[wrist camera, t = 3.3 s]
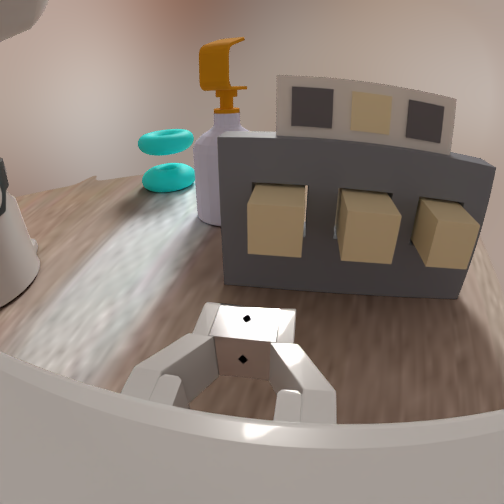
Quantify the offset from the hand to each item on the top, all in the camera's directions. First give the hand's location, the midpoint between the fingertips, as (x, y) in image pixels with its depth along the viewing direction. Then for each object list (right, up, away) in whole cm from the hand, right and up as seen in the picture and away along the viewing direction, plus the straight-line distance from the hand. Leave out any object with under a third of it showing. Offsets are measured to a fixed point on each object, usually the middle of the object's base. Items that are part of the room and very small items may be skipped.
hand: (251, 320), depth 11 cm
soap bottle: (-3, +7, +35) cm, 36 cm away
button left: (+2, +4, +17) cm, 17 cm away
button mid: (+9, +3, +16) cm, 18 cm away
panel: (+9, -1, +20) cm, 22 cm away
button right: (+16, +3, +15) cm, 22 cm away
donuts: (-15, +14, +47) cm, 52 cm away
